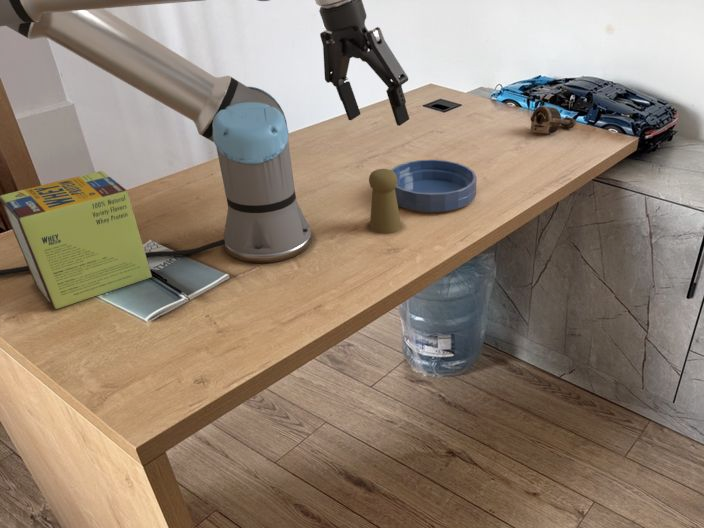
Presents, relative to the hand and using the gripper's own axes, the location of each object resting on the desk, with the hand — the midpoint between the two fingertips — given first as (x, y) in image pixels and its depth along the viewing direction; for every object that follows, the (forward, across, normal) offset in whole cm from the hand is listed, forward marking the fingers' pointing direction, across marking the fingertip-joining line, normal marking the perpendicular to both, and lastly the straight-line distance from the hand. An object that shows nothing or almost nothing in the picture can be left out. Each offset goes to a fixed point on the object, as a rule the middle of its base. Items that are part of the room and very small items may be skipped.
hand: (378, 119), depth 128 cm
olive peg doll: (+16, -6, +11) cm, 20 cm away
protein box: (+3, +15, +56) cm, 58 cm away
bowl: (+19, -3, -5) cm, 20 cm away
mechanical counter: (+30, +2, -55) cm, 63 cm away
